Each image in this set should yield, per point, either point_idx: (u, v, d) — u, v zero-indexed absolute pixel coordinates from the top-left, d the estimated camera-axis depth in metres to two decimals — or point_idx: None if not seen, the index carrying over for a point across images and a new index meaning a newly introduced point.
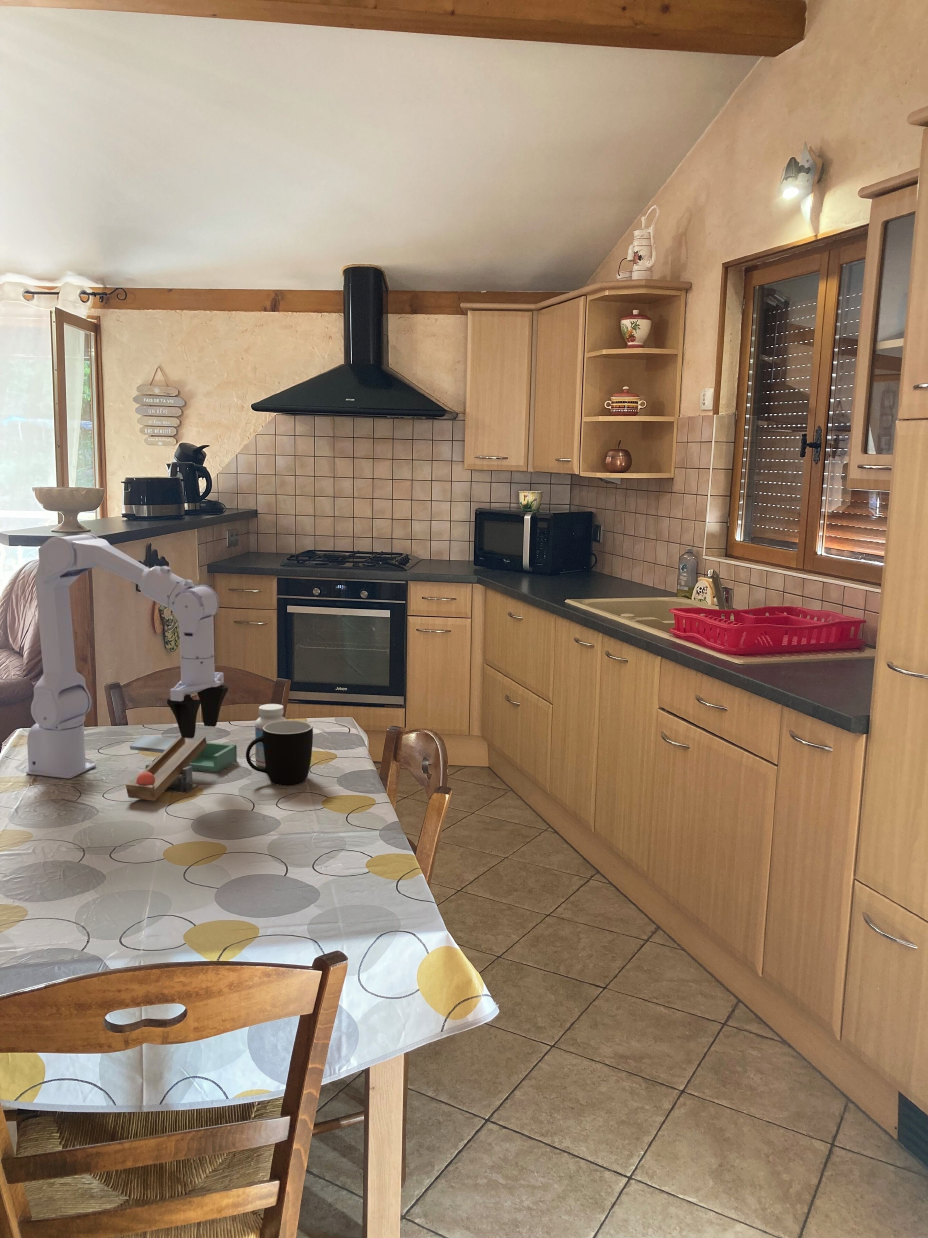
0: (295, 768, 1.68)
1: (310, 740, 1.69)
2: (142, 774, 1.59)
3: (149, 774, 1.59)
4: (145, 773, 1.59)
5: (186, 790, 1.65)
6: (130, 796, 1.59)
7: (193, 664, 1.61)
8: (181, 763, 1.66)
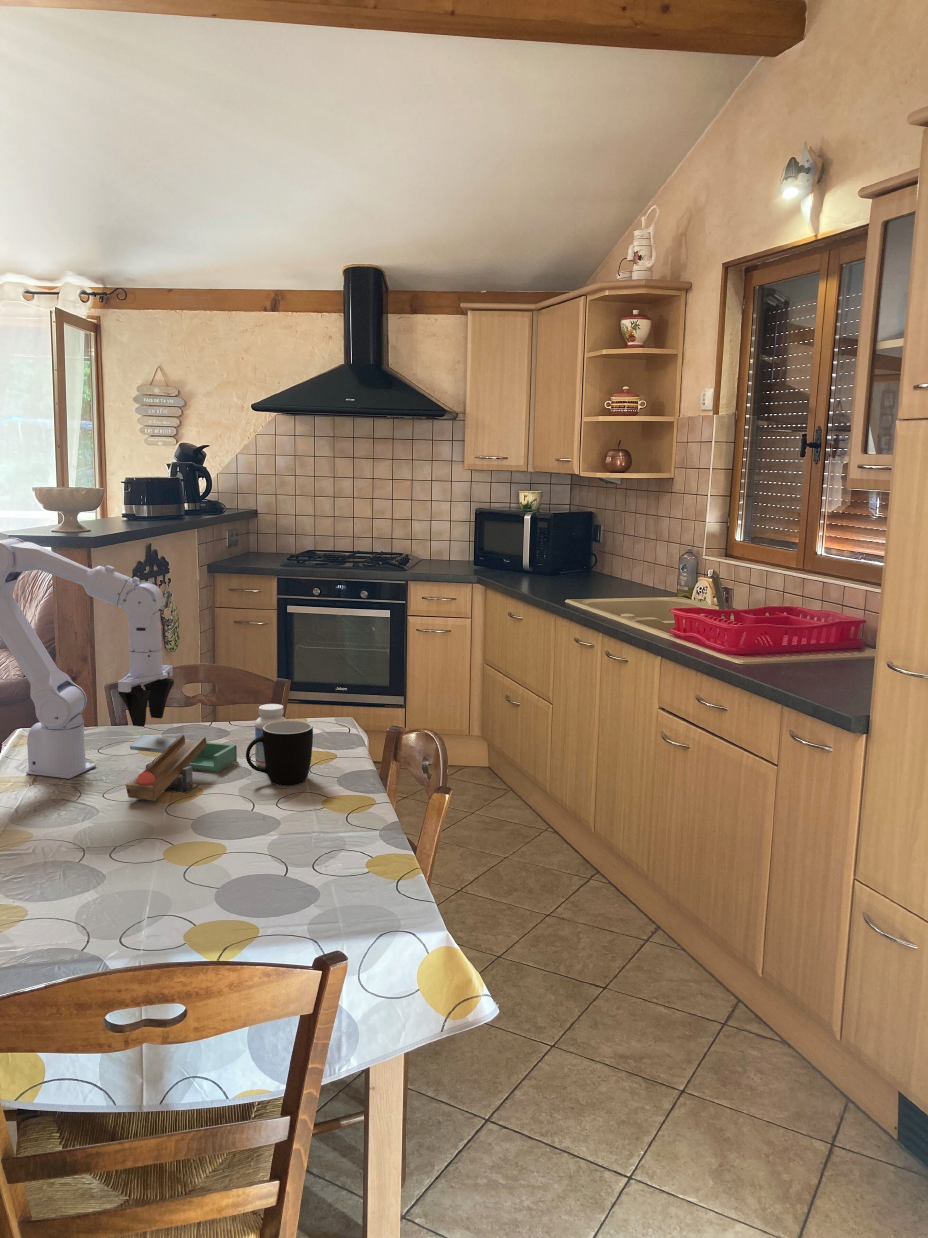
0: (295, 768, 1.68)
1: (310, 740, 1.69)
2: (142, 774, 1.59)
3: (149, 774, 1.59)
4: (145, 773, 1.59)
5: (186, 790, 1.65)
6: (130, 796, 1.59)
7: (141, 657, 1.69)
8: (181, 763, 1.66)
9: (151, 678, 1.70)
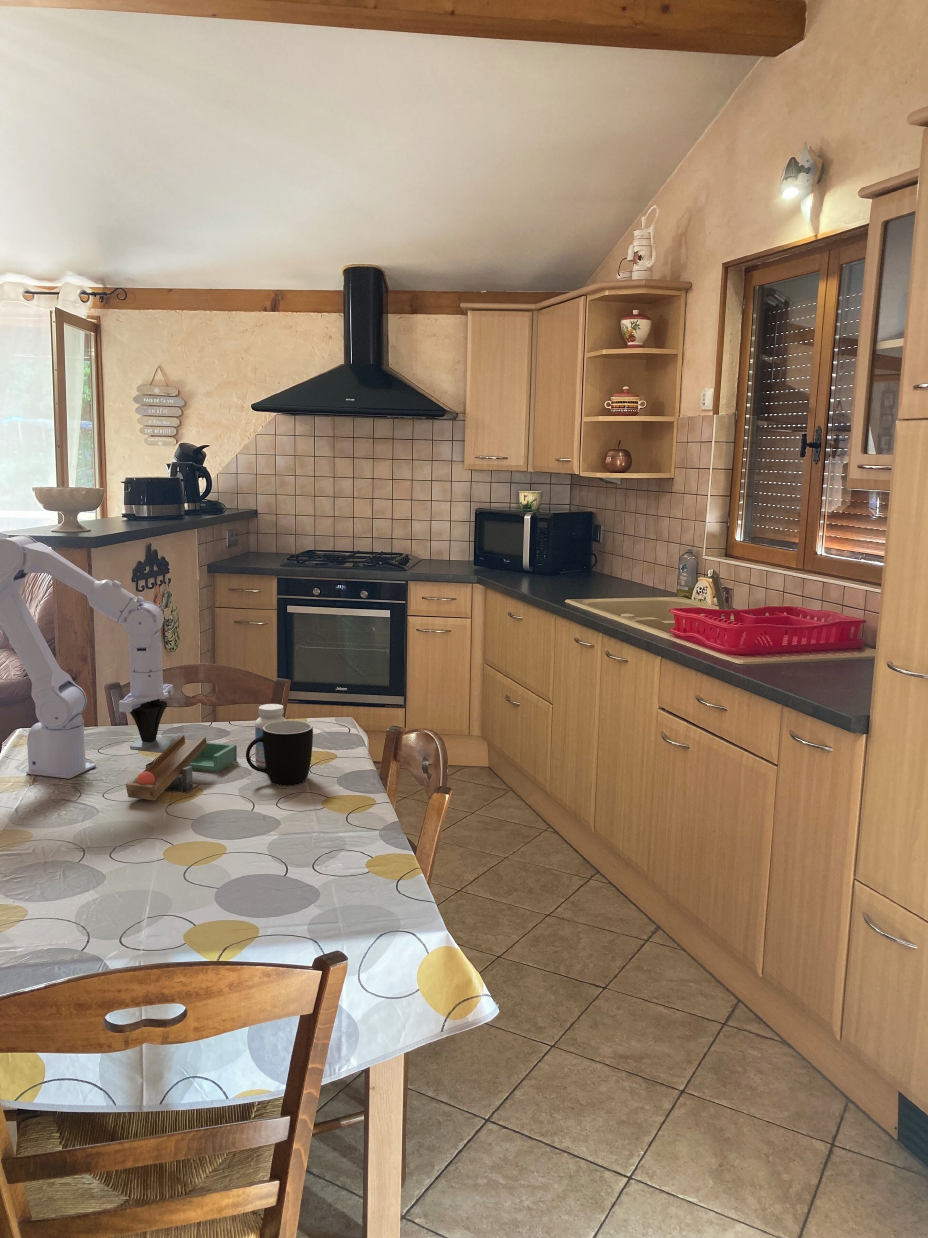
0: (295, 768, 1.68)
1: (310, 740, 1.69)
2: (142, 774, 1.59)
3: (149, 774, 1.59)
4: (145, 773, 1.59)
5: (186, 790, 1.65)
6: (130, 796, 1.59)
7: (141, 677, 1.70)
8: (181, 763, 1.66)
9: (152, 698, 1.71)
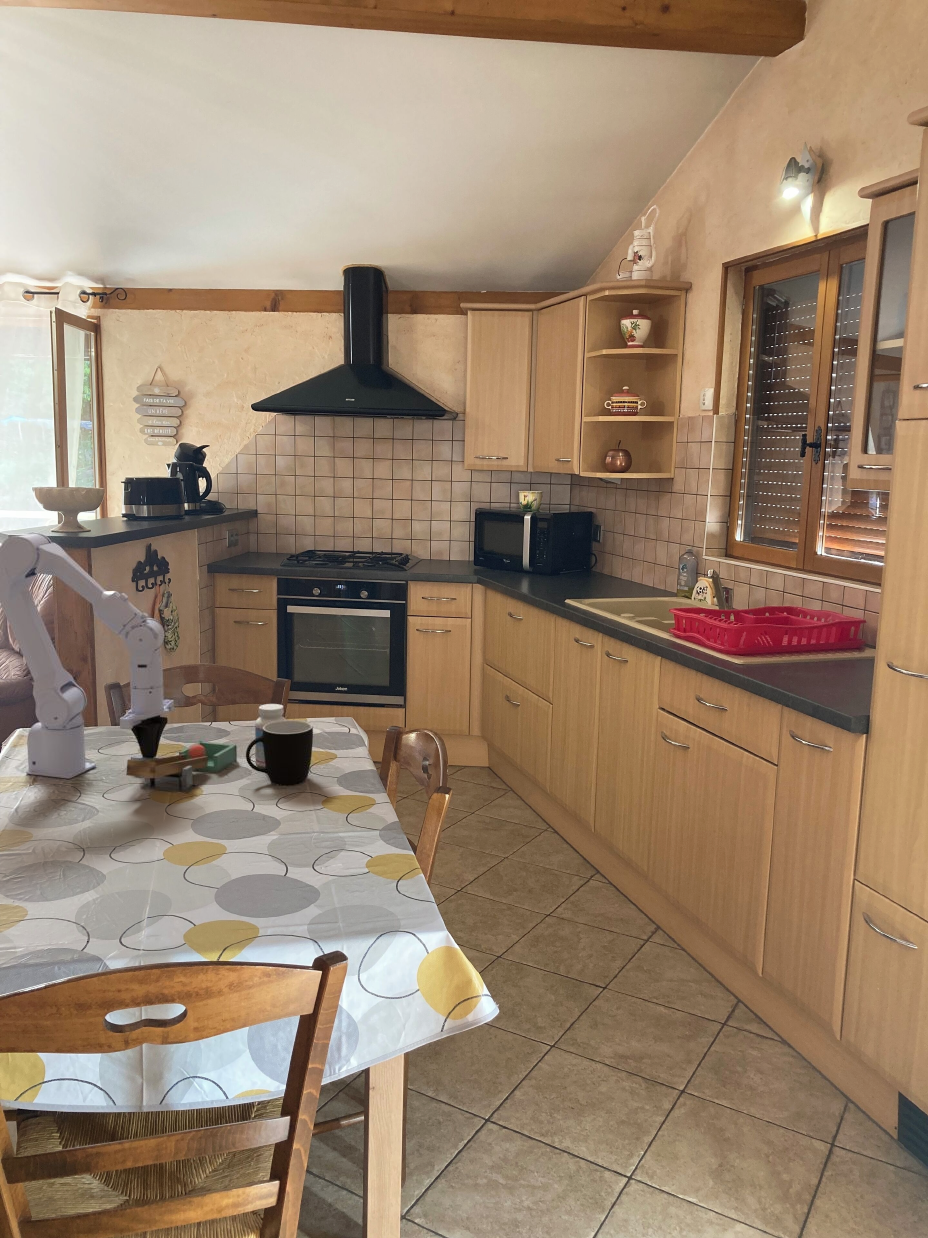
0: (295, 768, 1.68)
1: (310, 740, 1.69)
2: (192, 755, 1.74)
3: (197, 753, 1.74)
4: (194, 754, 1.74)
5: (186, 790, 1.65)
6: (128, 773, 1.58)
7: (142, 694, 1.70)
8: (183, 763, 1.66)
9: (152, 714, 1.71)
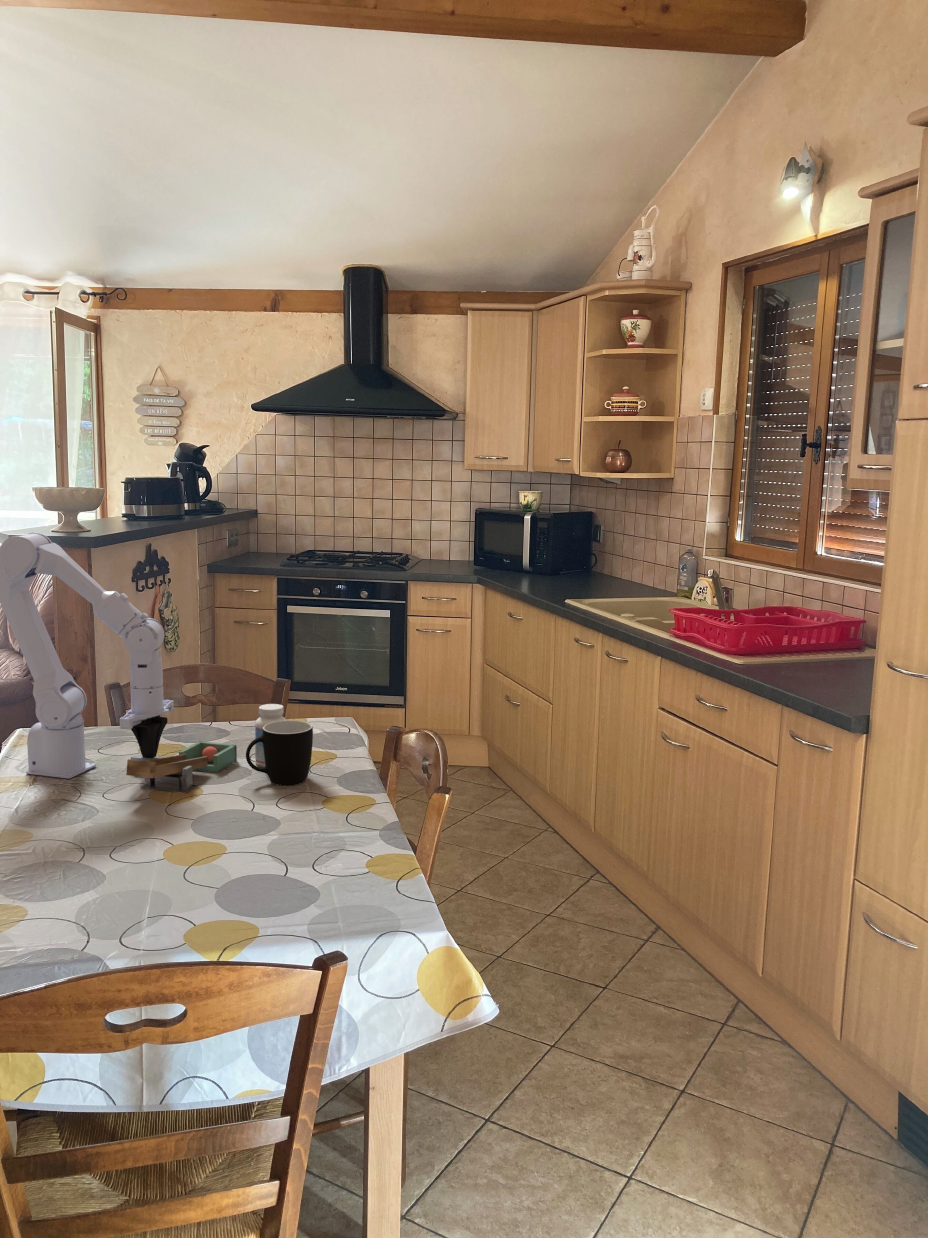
0: (295, 768, 1.68)
1: (310, 740, 1.69)
2: None
3: None
4: None
5: (186, 790, 1.65)
6: (128, 773, 1.58)
7: (142, 694, 1.70)
8: (183, 763, 1.66)
9: (152, 714, 1.71)
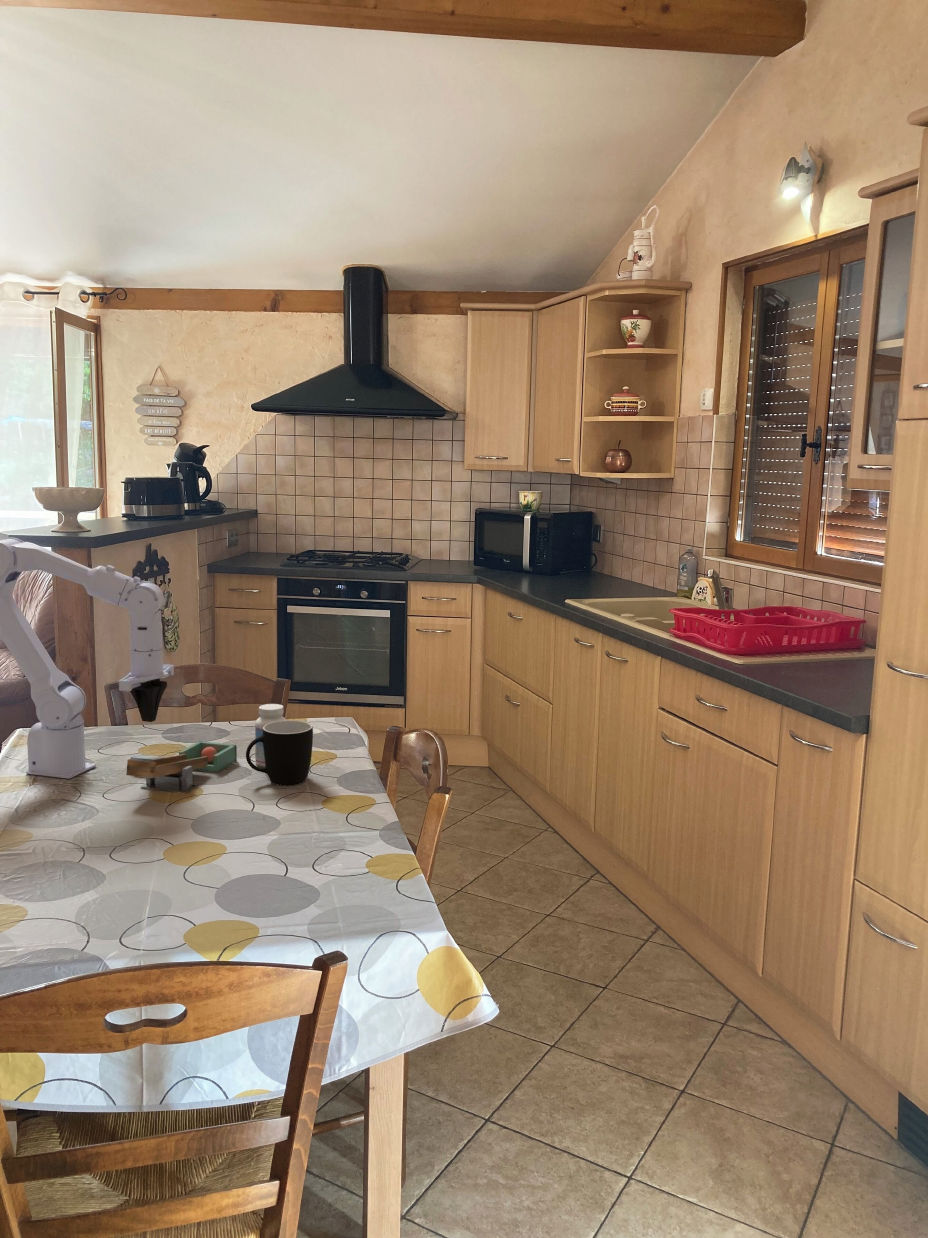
0: (295, 768, 1.68)
1: (310, 740, 1.69)
2: None
3: None
4: None
5: (186, 790, 1.65)
6: (128, 773, 1.58)
7: (141, 656, 1.70)
8: (183, 763, 1.66)
9: (152, 677, 1.71)
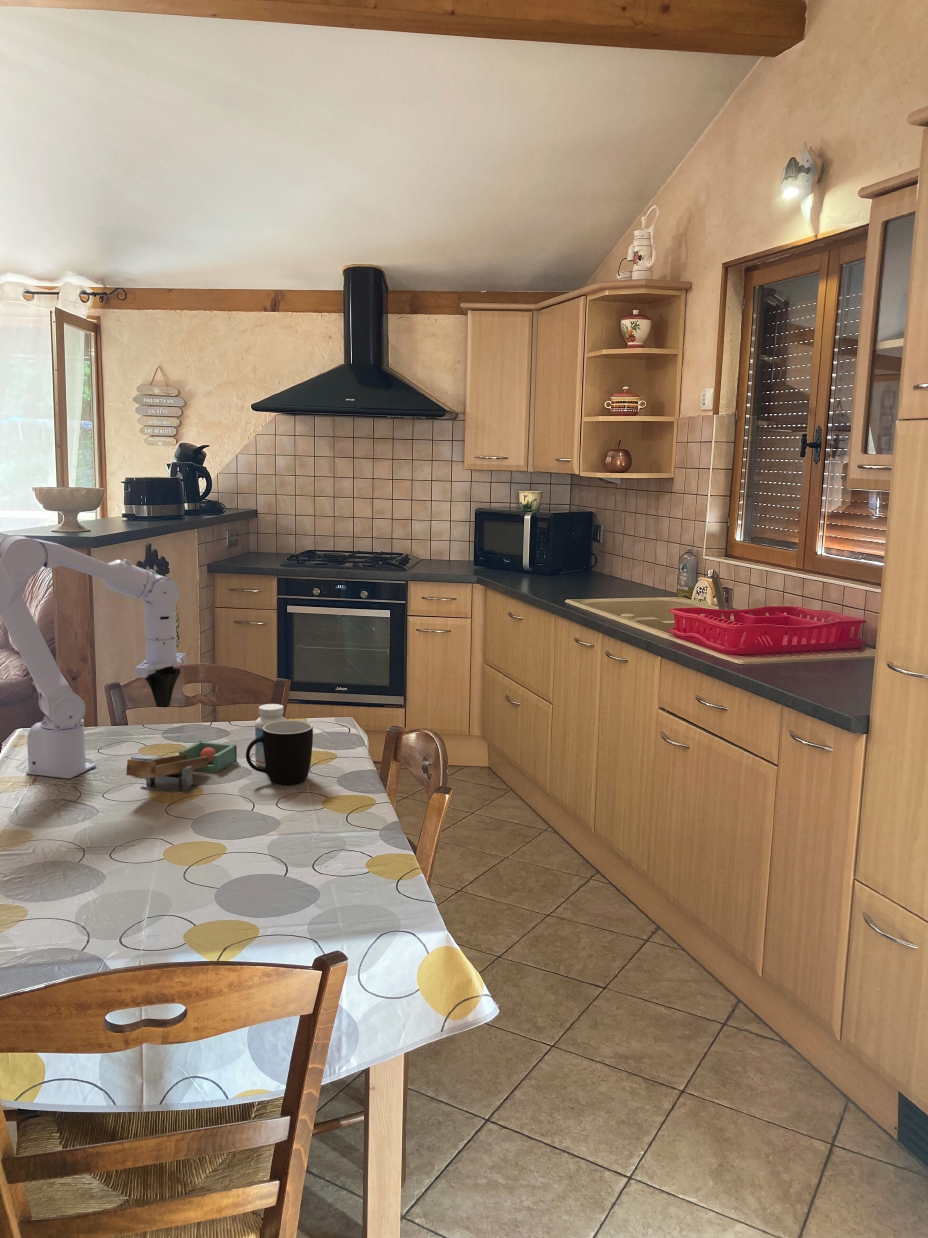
0: (295, 768, 1.68)
1: (310, 740, 1.69)
2: None
3: None
4: None
5: (186, 790, 1.65)
6: (128, 773, 1.58)
7: (156, 645, 1.79)
8: (183, 763, 1.66)
9: (166, 665, 1.79)
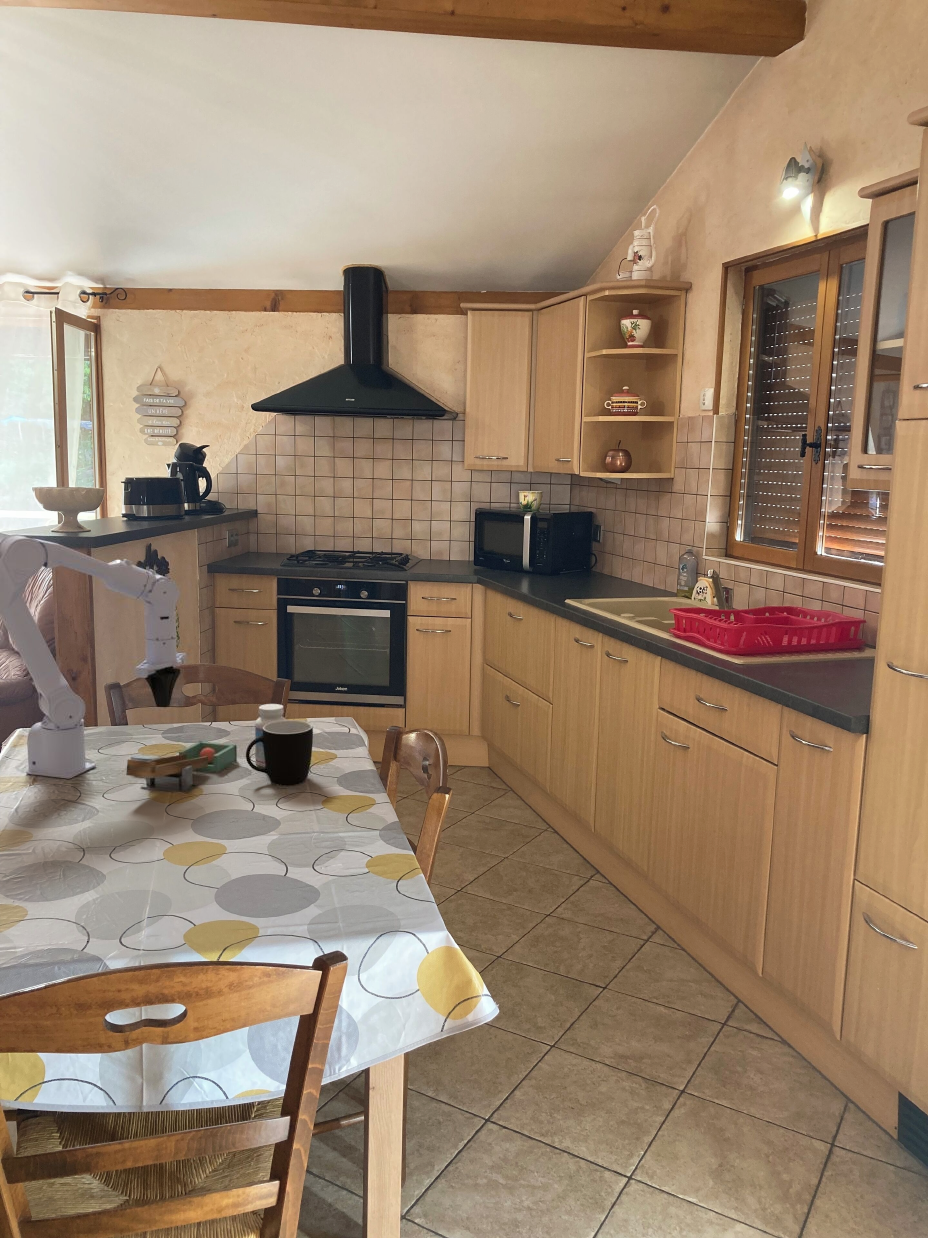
0: (295, 768, 1.68)
1: (310, 740, 1.69)
2: None
3: None
4: None
5: (186, 790, 1.65)
6: (128, 773, 1.58)
7: (156, 645, 1.79)
8: (183, 763, 1.66)
9: (166, 665, 1.79)
